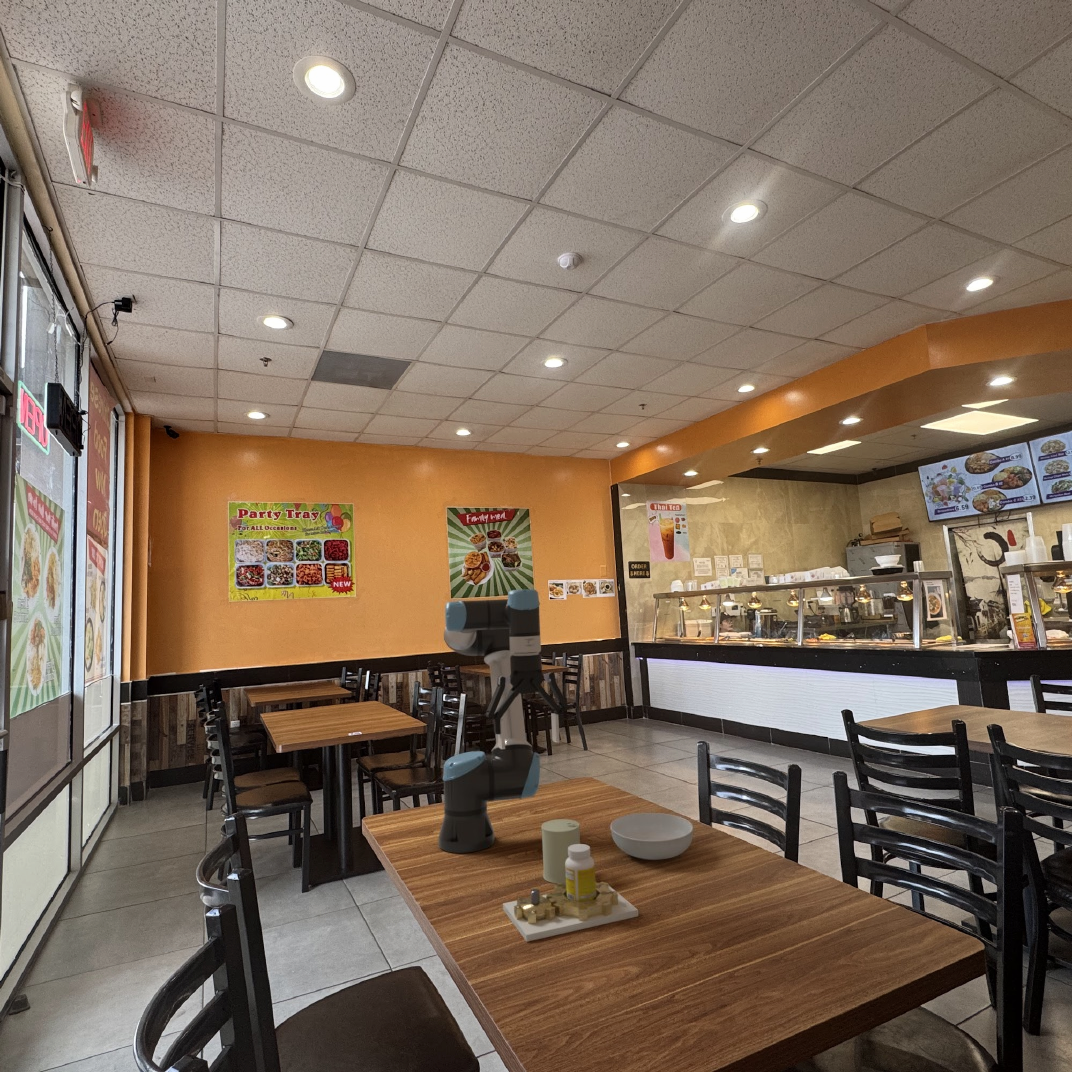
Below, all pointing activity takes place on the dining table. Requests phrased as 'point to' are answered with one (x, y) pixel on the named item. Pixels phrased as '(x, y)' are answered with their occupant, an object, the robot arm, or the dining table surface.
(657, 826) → the serving bowl
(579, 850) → the pill bottle
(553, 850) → the can
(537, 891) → the gear
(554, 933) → the gear board
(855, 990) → the dining table surface
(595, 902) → the gear
